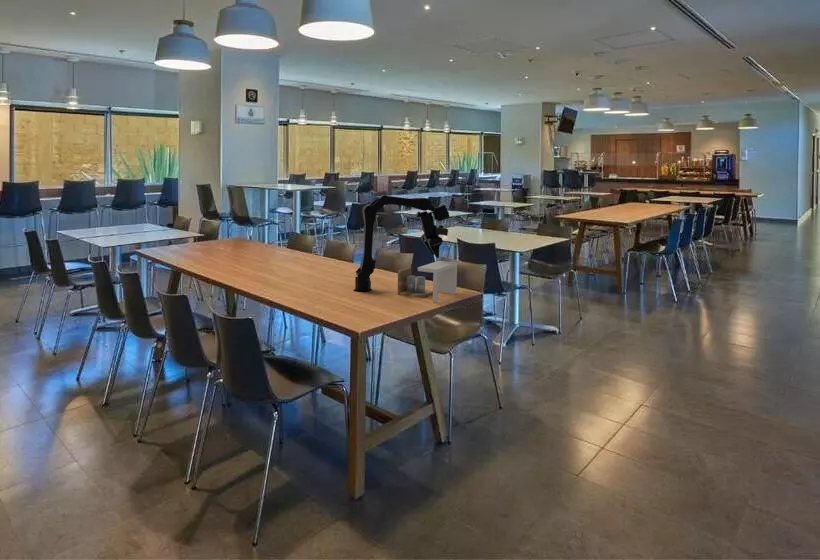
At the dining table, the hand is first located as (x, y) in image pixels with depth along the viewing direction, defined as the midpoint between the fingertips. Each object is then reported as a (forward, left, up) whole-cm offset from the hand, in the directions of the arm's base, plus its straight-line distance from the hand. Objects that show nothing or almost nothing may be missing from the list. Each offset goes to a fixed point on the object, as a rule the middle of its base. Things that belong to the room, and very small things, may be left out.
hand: (435, 256), depth 284 cm
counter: (+10, -17, -15) cm, 25 cm away
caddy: (-1, -17, -15) cm, 23 cm away
